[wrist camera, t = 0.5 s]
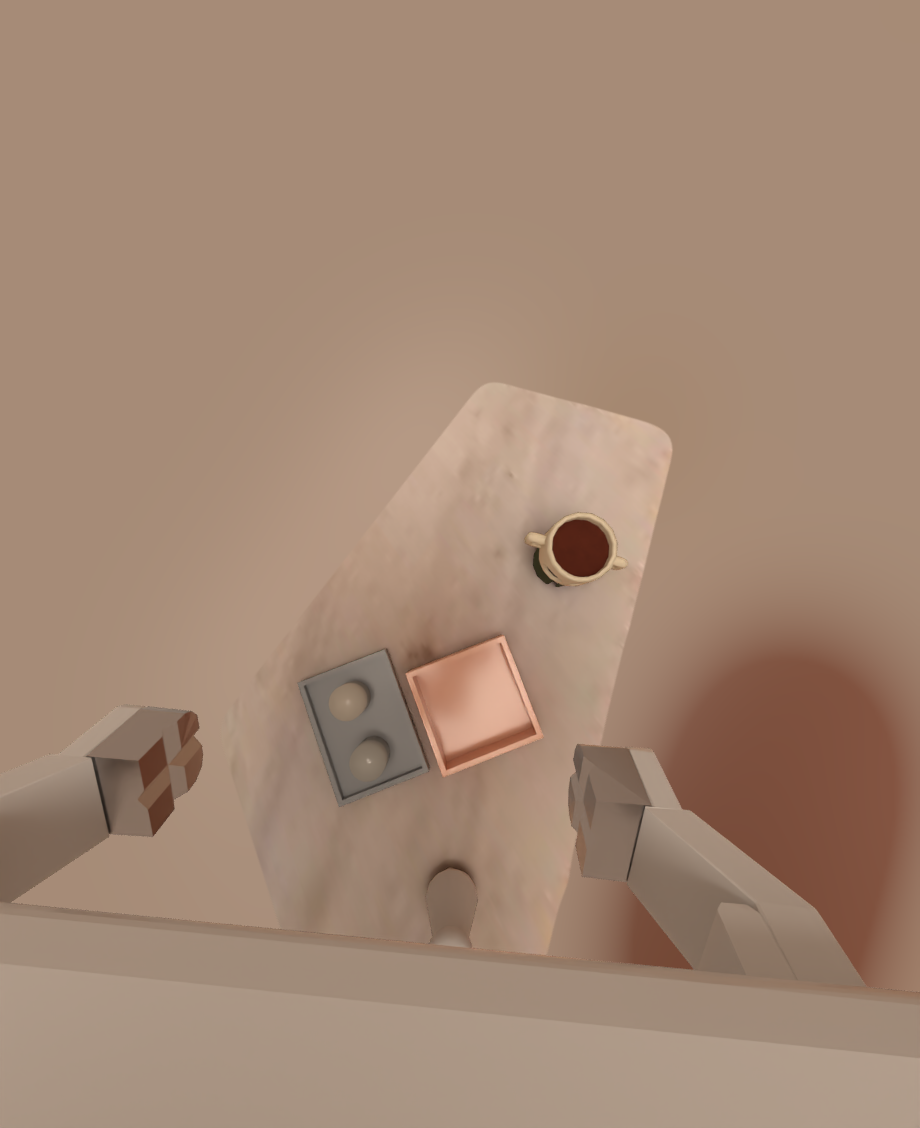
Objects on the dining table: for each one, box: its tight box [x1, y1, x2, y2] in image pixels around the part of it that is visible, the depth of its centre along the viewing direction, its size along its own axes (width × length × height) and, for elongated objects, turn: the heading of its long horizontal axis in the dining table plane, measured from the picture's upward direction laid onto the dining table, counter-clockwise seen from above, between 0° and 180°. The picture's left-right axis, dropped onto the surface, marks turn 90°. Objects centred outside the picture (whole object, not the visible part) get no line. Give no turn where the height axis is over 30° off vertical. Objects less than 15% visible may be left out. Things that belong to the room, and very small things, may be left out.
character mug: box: [524, 512, 628, 587], centre depth 54 cm, size 11×7×13 cm, turn 73°
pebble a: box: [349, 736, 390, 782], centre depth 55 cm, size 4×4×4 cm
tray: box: [298, 649, 430, 807], centre depth 57 cm, size 15×11×1 cm
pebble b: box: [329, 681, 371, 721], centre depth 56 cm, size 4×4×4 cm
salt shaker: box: [426, 867, 478, 948], centre depth 50 cm, size 6×6×13 cm
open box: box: [406, 635, 543, 777], centre depth 56 cm, size 12×12×4 cm
